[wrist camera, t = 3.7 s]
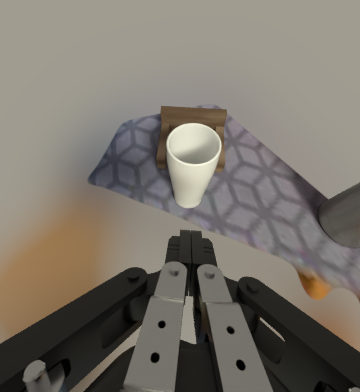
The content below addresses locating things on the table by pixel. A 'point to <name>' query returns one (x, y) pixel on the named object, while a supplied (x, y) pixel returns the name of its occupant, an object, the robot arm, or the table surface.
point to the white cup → (192, 161)
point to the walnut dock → (183, 115)
